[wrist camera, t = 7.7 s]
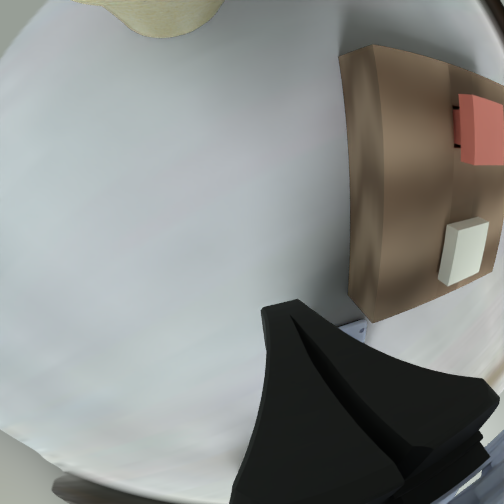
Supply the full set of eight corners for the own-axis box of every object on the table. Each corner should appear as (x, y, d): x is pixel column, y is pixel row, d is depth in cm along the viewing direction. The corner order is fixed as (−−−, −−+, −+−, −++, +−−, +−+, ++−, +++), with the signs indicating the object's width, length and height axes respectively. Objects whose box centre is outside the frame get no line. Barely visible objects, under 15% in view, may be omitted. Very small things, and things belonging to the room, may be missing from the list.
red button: (455, 152, 18) (503, 165, 13) (420, 151, 17) (474, 165, 13) (452, 100, 16) (503, 105, 11) (417, 93, 15) (472, 94, 11)
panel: (467, 255, 24) (492, 271, 21) (347, 295, 22) (372, 323, 19) (475, 85, 17) (506, 87, 13) (338, 56, 15) (372, 44, 11)
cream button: (440, 247, 22) (478, 272, 18) (407, 257, 22) (447, 286, 17) (445, 201, 21) (489, 221, 16) (412, 207, 20) (458, 230, 15)
